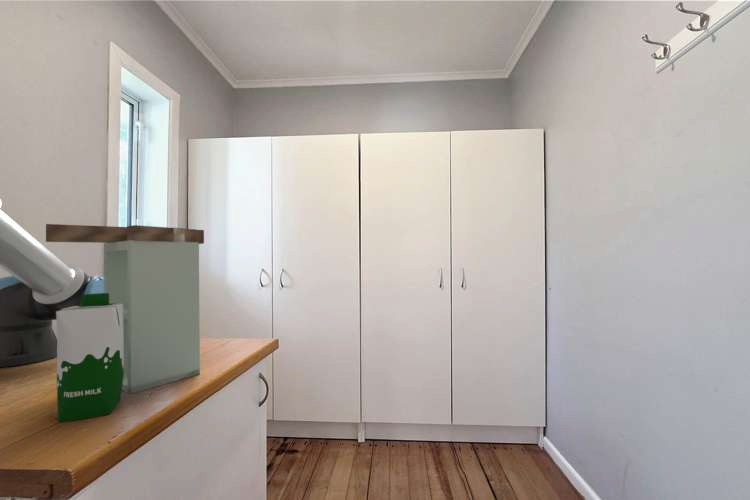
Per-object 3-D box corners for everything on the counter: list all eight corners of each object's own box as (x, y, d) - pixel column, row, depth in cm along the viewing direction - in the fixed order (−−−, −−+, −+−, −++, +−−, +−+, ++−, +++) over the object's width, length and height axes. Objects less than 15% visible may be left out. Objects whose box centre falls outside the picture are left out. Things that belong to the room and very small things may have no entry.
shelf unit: (130, 393, 70) (130, 240, 71) (103, 382, 78) (103, 243, 78) (199, 374, 82) (198, 242, 83) (170, 365, 89) (169, 244, 90)
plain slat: (45, 240, 68) (45, 223, 68) (46, 241, 70) (46, 225, 70) (203, 243, 86) (203, 230, 86) (199, 243, 89) (199, 231, 89)
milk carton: (127, 397, 68) (127, 291, 69) (115, 416, 60) (115, 295, 61) (69, 405, 65) (70, 294, 65) (47, 426, 57) (48, 299, 57)
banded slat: (135, 240, 71) (135, 224, 71) (127, 241, 73) (127, 225, 73) (196, 242, 83) (196, 228, 83) (188, 243, 84) (188, 229, 84)
